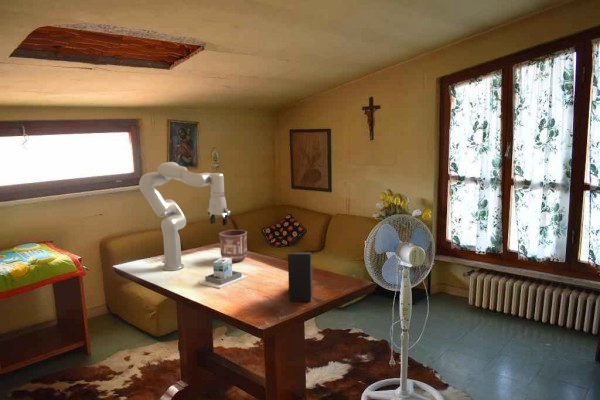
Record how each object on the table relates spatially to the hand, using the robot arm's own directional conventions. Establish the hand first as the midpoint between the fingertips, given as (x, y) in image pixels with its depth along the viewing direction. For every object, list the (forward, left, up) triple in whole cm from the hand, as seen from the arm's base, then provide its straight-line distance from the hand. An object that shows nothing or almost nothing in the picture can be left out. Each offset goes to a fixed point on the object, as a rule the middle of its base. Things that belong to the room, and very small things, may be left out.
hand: (218, 224), depth 261 cm
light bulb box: (+13, -11, -28) cm, 32 cm away
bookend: (+61, -5, -29) cm, 67 cm away
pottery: (-10, +22, -28) cm, 37 cm away
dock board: (+13, -11, -28) cm, 33 cm away
